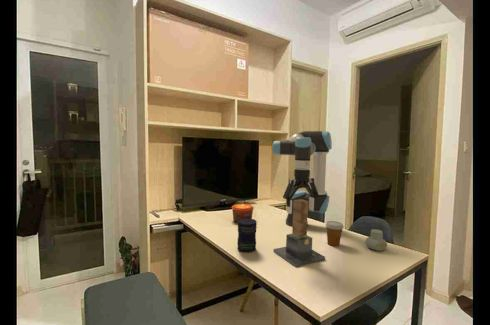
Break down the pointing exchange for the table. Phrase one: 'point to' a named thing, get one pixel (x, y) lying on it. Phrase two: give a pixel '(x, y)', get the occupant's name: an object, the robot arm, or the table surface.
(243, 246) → the storage jar
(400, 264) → the table surface
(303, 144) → the robot arm
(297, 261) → the grey socket base
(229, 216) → the table surface
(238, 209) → the food container
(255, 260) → the table surface
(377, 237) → the air freshener
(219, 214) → the table surface
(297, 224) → the column
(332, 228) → the disposable coffee cup
